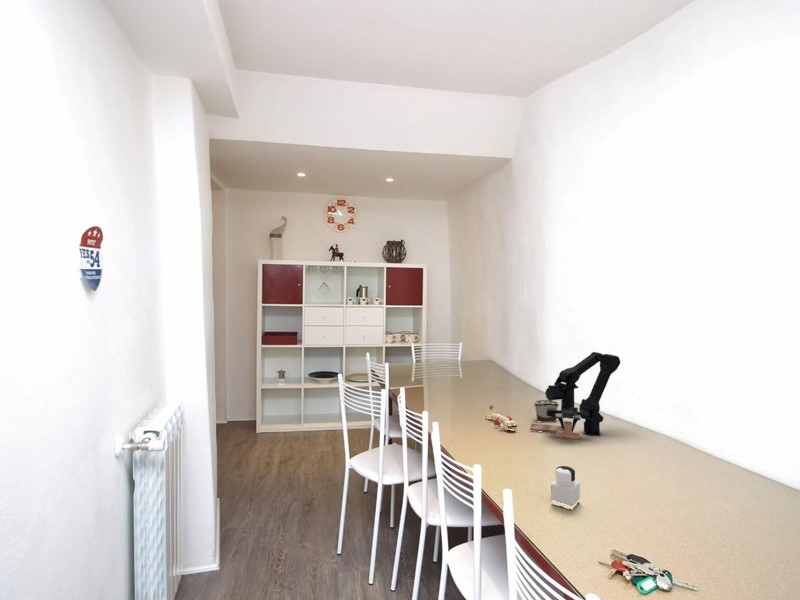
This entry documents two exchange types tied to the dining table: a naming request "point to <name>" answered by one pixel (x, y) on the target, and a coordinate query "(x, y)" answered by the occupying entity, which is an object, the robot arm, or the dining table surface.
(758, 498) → the dining table surface
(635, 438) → the dining table surface
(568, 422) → the stub
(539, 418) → the food container
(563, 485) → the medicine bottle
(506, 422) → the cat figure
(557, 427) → the ticket board
